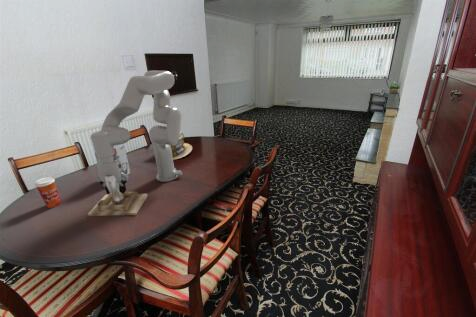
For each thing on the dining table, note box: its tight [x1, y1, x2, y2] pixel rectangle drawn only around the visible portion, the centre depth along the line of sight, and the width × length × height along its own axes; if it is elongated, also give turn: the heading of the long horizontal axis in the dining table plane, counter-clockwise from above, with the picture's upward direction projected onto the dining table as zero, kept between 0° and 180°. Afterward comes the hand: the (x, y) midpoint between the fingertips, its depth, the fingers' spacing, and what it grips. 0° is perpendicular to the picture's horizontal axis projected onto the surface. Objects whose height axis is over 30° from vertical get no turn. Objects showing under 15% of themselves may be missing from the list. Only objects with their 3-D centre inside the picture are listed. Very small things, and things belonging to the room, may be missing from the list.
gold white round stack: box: [170, 131, 193, 161], centre depth 172 cm, size 25×25×17 cm
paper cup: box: [34, 176, 62, 209], centre depth 115 cm, size 8×8×14 cm
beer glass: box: [104, 175, 126, 204], centre depth 112 cm, size 7×7×15 cm
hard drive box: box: [94, 143, 131, 176], centre depth 138 cm, size 16×8×20 cm, turn 168°
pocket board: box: [87, 191, 148, 217], centre depth 116 cm, size 22×16×4 cm
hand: (116, 192), depth 113 cm, fingers closed on beer glass, 6 cm apart
